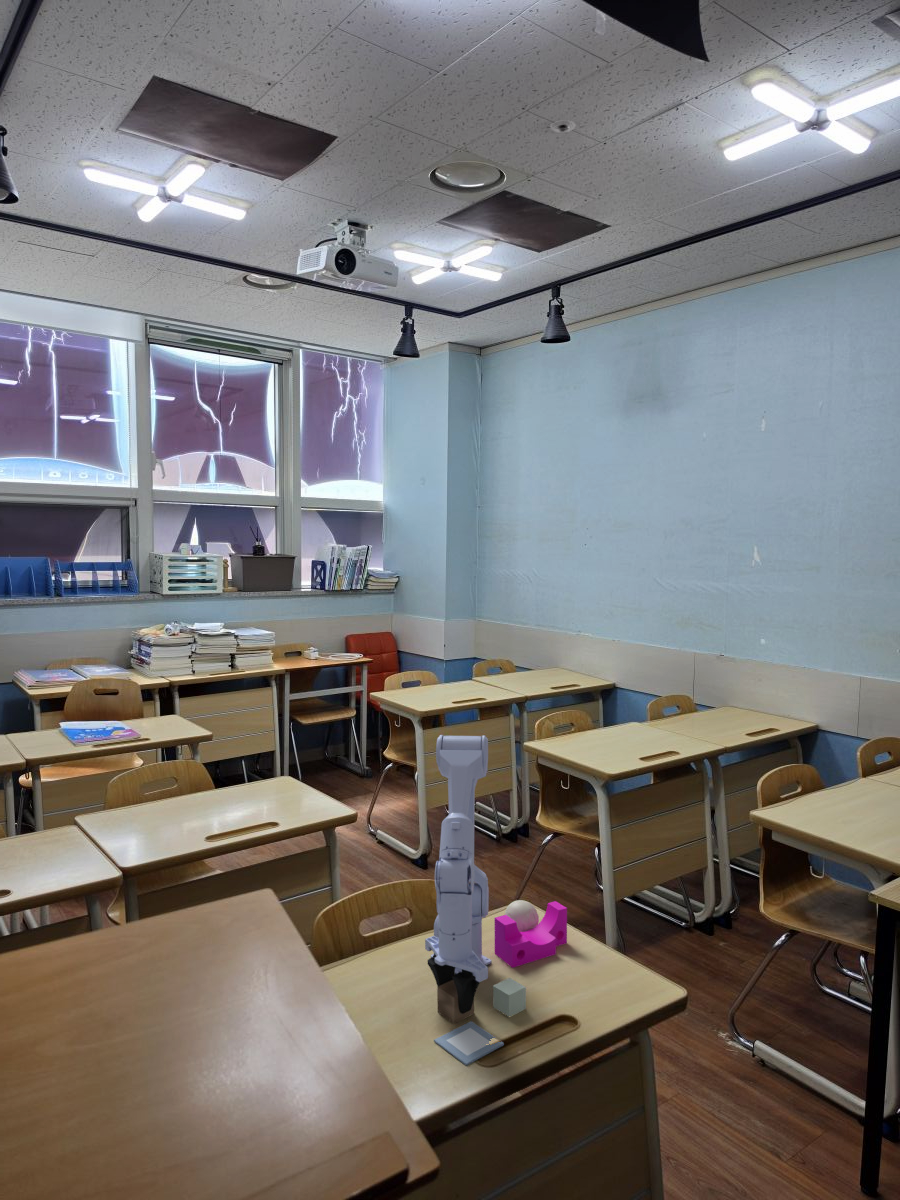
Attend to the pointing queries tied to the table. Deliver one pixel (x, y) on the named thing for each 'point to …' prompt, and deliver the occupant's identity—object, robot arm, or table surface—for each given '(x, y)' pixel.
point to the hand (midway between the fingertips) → (455, 1004)
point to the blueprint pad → (468, 1043)
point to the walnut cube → (450, 1002)
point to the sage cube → (509, 997)
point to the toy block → (531, 937)
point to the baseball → (523, 915)
